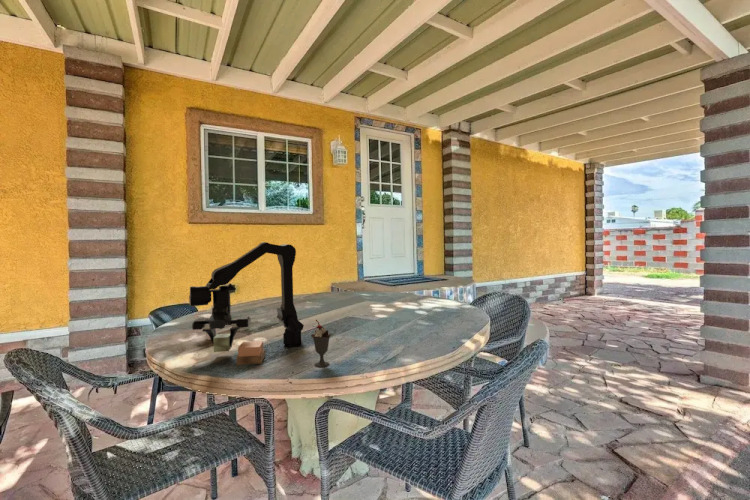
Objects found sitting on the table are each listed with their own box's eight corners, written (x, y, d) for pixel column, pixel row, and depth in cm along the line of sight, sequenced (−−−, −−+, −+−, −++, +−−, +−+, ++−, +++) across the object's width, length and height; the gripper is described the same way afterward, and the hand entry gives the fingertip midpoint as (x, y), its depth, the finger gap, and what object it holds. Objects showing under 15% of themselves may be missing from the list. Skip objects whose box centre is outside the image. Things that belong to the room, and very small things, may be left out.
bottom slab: (265, 356, 132) (264, 348, 132) (261, 364, 124) (261, 356, 124) (242, 358, 131) (241, 349, 131) (236, 366, 123) (236, 357, 123)
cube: (232, 346, 134) (231, 333, 134) (228, 351, 130) (228, 337, 129) (217, 347, 134) (217, 334, 133) (213, 352, 129) (213, 337, 129)
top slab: (263, 349, 131) (263, 341, 131) (259, 355, 124) (259, 347, 124) (243, 350, 130) (242, 341, 130) (238, 356, 123) (238, 347, 123)
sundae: (312, 361, 125) (311, 318, 124) (332, 361, 126) (331, 317, 125) (310, 368, 119) (309, 323, 118) (331, 367, 119) (330, 322, 118)
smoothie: (213, 340, 151) (212, 307, 150) (199, 340, 152) (198, 306, 152) (223, 336, 157) (222, 304, 157) (209, 336, 159) (208, 304, 158)
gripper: (185, 309, 122) (187, 355, 122) (244, 306, 124) (245, 352, 125) (197, 302, 133) (198, 345, 133) (250, 300, 135) (251, 342, 136)
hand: (223, 346), depth 132 cm, fingers closed on cube, 5 cm apart
